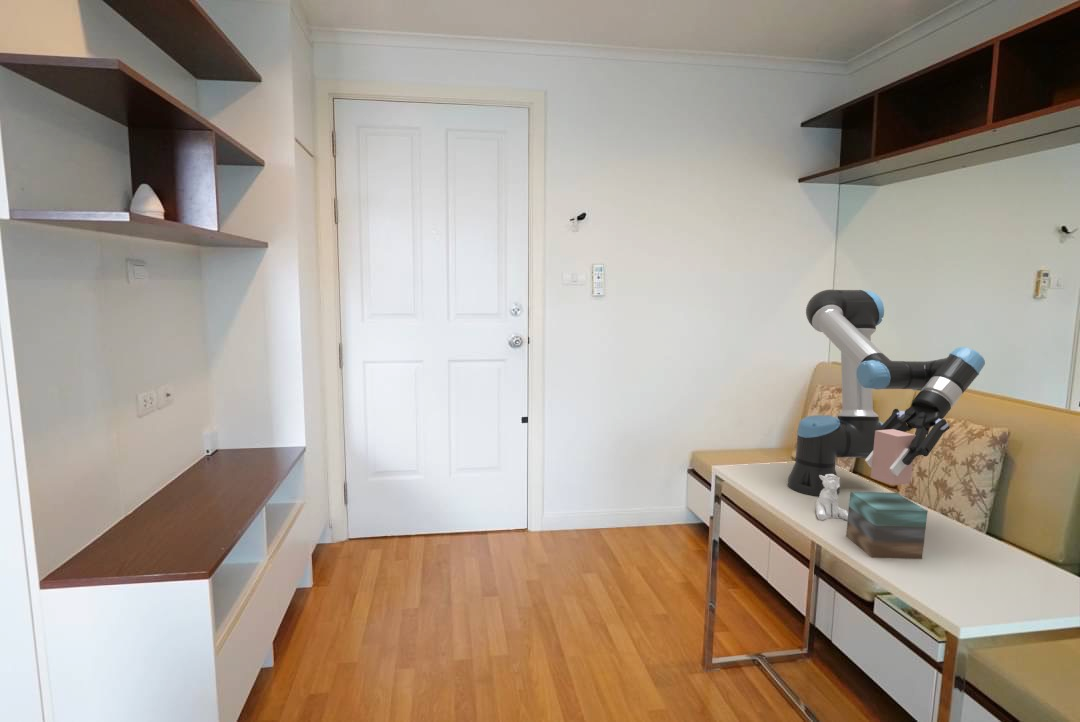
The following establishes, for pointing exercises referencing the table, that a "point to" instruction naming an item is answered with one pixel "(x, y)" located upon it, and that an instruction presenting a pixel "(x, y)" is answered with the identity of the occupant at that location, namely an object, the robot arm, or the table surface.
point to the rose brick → (890, 456)
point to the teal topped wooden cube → (886, 525)
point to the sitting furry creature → (829, 499)
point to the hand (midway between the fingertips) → (880, 468)
